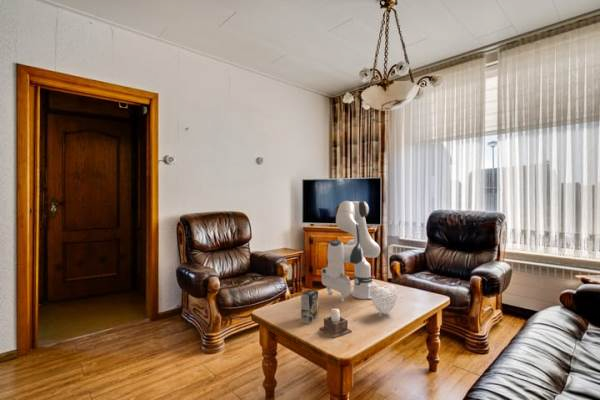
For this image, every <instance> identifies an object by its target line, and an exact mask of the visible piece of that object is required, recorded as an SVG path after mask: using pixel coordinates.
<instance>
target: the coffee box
mask: <svg viewBox="0 0 600 400" xmlns="http://www.w3.org/2000/svg"><path fill="white" fill-rule="evenodd" d="M300 295H301V296H300V298H301V302H300V322H302V323H305V324H308V325H311V324H312V323H314V322H315V321H317V319H318V318H319V291H318V290H313V289H307V290H305V291H303V292H302V293H301V294H300ZM318 320H319V319H318Z"/></svg>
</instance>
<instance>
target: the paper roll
mask: <svg viewBox="0 0 600 400" xmlns="http://www.w3.org/2000/svg"><path fill="white" fill-rule="evenodd" d="M340 313H341V312H340V309H339V308H331V309H330V316H331V322H333V323H337V322H340V317H341V316H340Z"/></svg>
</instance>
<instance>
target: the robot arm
mask: <svg viewBox="0 0 600 400" xmlns="http://www.w3.org/2000/svg"><path fill="white" fill-rule="evenodd" d="M369 212H370V207H369V204H368V203H367V201H364V200H359V201H358V200H356V201H350V200H344V201H342V202H341V203H338V204H336V206H335V208H334V214H335V224H336V226H337V227H338V228H339V230H341V231H343V232H346V233H348V234H351V235H352V236H353V239H349V240H348V241H347V243H346V244H344V242H343V241H342V240H340V239H335V240H331V241H329V242H328V246H327V251H326V253H327V258H326V259H327V266H326V267H324V268H321V284H322V285H323V286H325V287H326V290H327V295H328V296H330V297H331V296H333V291H332V290H334V291H336V292H338V293H340V295H341V296H339V301H341V302H344V301H345V296H347V295H351V296H353V297H354V298H357V299H362V300H371V301H372V292H373V290H374V289H375V288H377V287H380V286H379V285H378V284H377V283H376V282H374V280H375V278H376V276H375V275H371V274H372V273H371V272H372V269H371V268H372V267H371V263H369V262H368V260H367V259H366V258H370V259H371V258H372V259H373V258H377V257H378V256H379V255H380V253H381V246H380V245H379V244H378V242H376V241H375V240H374V239H373V238H372V236H371V235H370V233H369V230H368V225H367V221H366V217H367V216H368V215H369ZM344 263H346V264H353V266H354V275H353V280H354V282H353V287H352V284H351V279H350V278H349V276H348V275H345V264H344ZM352 288H353V289H352ZM376 292H377V291H376ZM378 292H379V291H378ZM351 293H352V294H351ZM376 295H378V293H377V294H376ZM381 295H384V294H381ZM374 299H375V298H374Z"/></svg>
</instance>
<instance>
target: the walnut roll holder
mask: <svg viewBox="0 0 600 400" xmlns="http://www.w3.org/2000/svg"><path fill="white" fill-rule="evenodd" d="M319 330H320V331H322V332H323V333H325V334H327V335H328V336H330V337H331V338H332V339H336V338H340V337H342V336H345V335H348V334H351V333H353V332H352V329H349V328H348V319H346V318H344V317H342V316H340V322H337V323H333V322H331V315H330V316H327V317H325V318H323V326H320V327H319Z"/></svg>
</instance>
